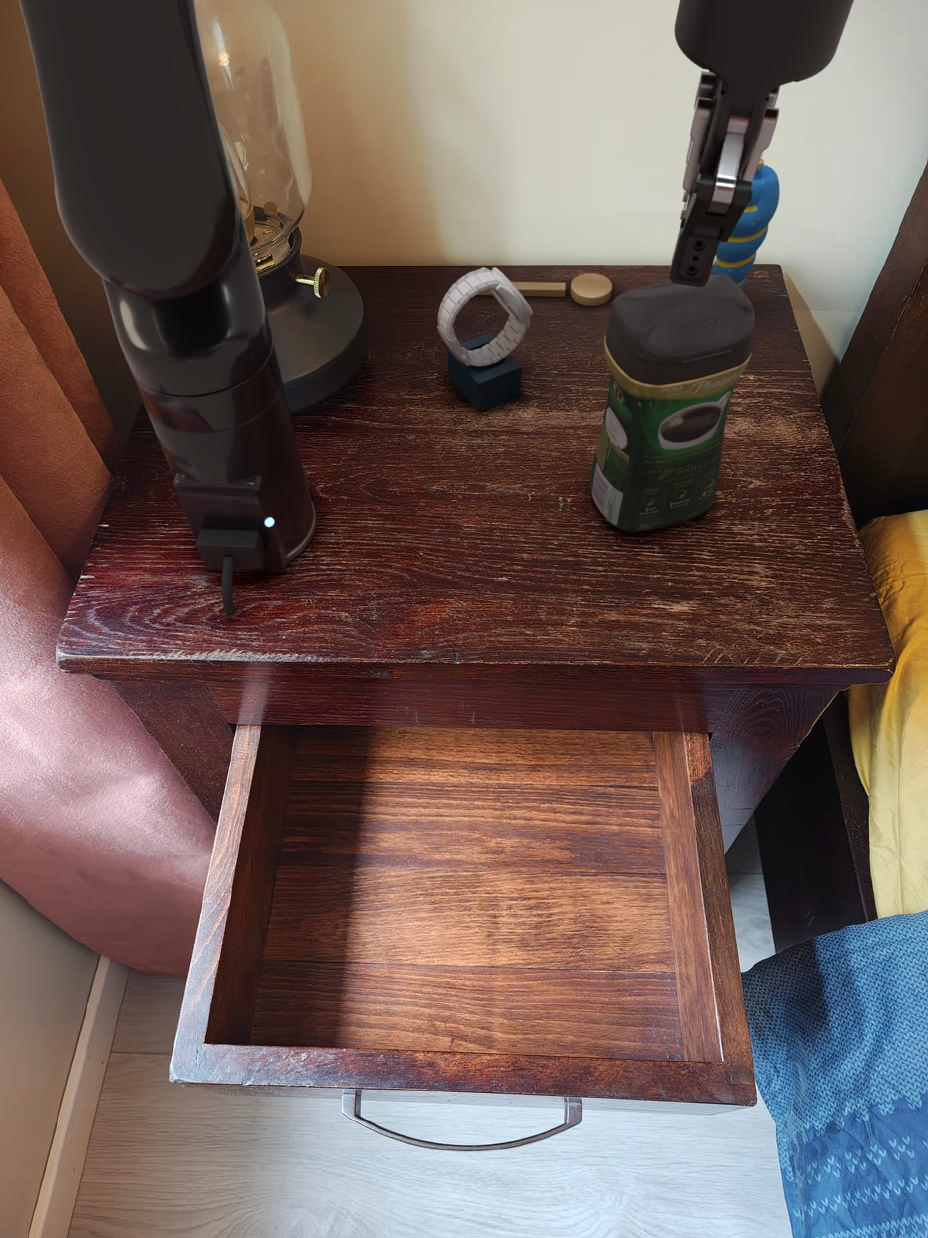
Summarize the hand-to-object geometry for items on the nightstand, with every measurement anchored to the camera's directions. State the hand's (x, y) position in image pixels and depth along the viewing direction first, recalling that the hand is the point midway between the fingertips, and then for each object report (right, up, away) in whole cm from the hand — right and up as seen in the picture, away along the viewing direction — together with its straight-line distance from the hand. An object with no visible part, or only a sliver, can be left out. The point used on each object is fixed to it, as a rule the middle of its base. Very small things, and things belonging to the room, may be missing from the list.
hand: (687, 277), depth 54 cm
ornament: (+12, +10, +34) cm, 37 cm away
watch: (-11, +1, +29) cm, 31 cm away
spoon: (-5, +12, +36) cm, 38 cm away
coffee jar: (+2, -10, +20) cm, 23 cm away
